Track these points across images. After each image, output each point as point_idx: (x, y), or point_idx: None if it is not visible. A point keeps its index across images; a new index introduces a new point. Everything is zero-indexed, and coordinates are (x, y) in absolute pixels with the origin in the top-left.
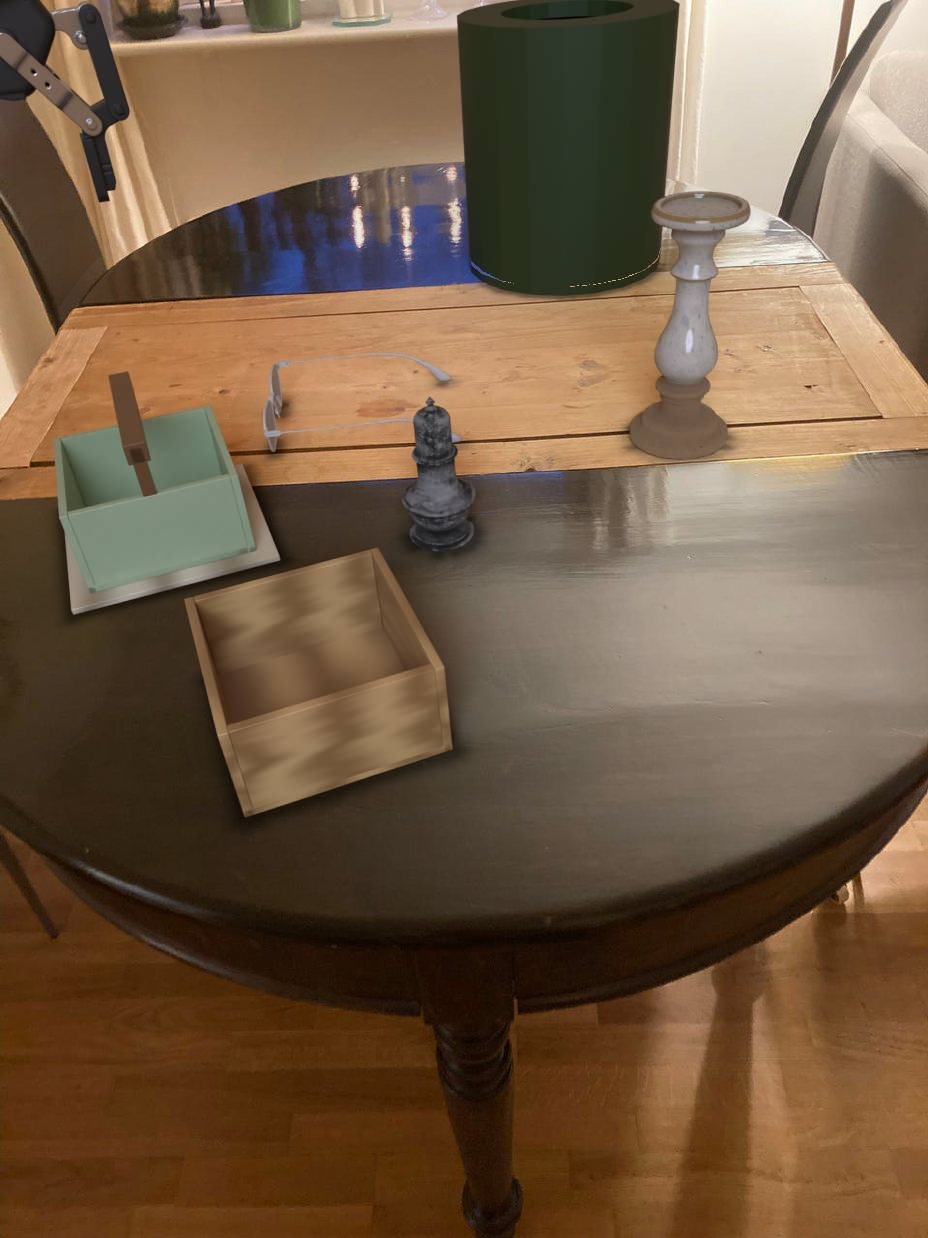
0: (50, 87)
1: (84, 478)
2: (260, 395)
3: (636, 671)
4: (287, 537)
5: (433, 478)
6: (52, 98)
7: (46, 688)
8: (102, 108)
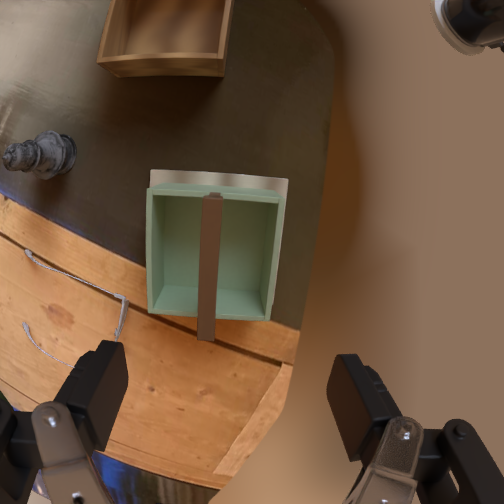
0: (74, 492)
1: (255, 300)
2: (129, 373)
3: (49, 19)
4: (140, 194)
5: (39, 143)
6: (85, 474)
7: (312, 118)
8: (23, 436)
